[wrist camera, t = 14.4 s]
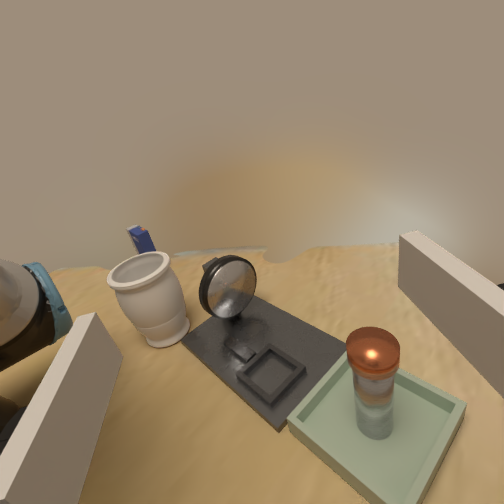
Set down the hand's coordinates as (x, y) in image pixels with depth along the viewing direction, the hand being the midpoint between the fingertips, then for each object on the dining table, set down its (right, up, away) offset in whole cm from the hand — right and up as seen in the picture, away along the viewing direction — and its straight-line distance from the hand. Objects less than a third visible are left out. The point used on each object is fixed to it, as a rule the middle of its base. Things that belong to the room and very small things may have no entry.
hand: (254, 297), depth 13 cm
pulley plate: (+1, -14, +37) cm, 40 cm away
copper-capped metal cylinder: (+14, -18, +23) cm, 32 cm away
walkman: (-26, -3, +68) cm, 73 cm away
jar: (-16, -13, +45) cm, 50 cm away
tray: (+14, -19, +23) cm, 33 cm away
